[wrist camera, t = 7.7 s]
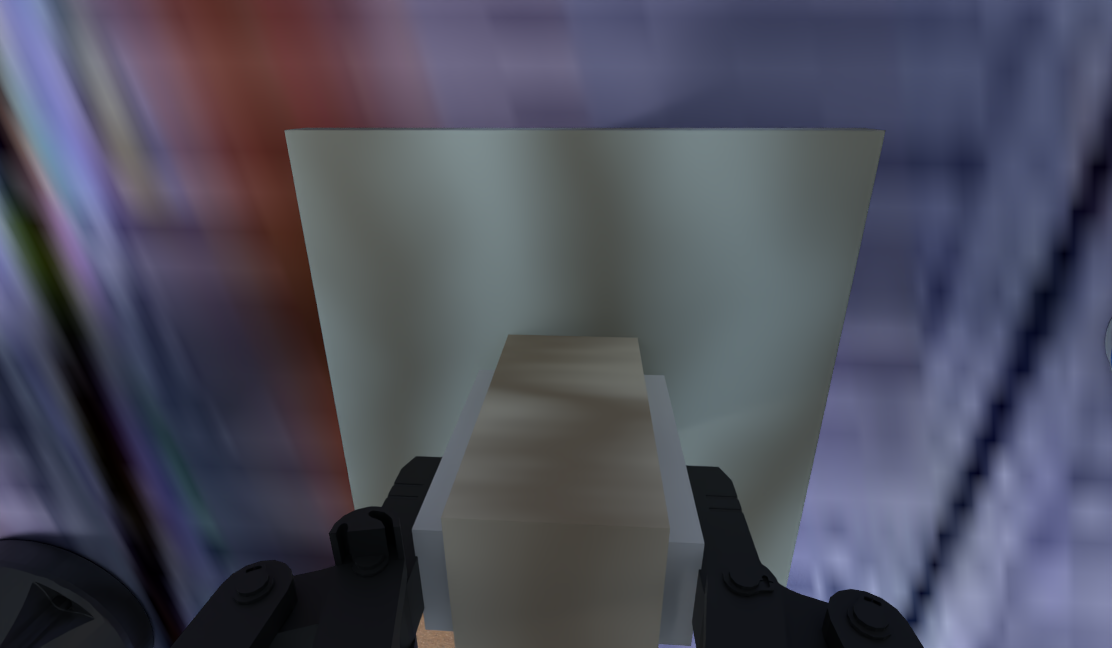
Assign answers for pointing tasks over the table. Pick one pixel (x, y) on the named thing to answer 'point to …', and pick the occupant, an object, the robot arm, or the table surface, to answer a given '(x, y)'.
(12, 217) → the table surface
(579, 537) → the lid
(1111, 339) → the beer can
